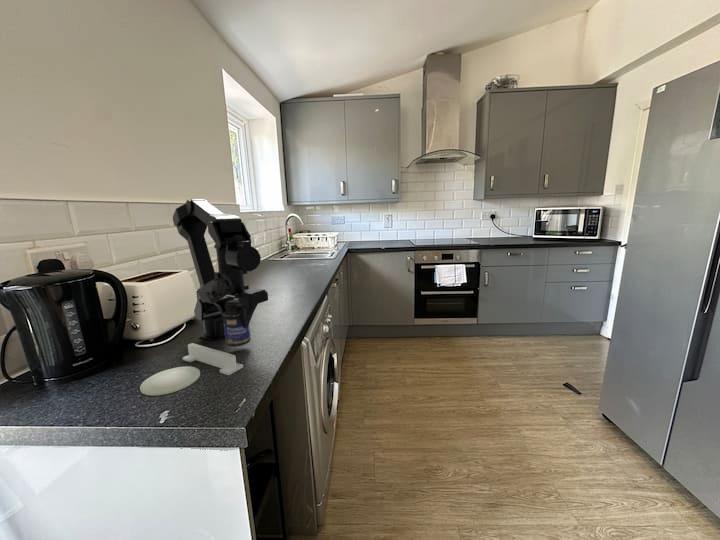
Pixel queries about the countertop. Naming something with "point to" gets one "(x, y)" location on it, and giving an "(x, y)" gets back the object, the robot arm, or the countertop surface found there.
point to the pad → (170, 381)
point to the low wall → (213, 358)
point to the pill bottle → (234, 326)
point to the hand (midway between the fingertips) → (236, 326)
